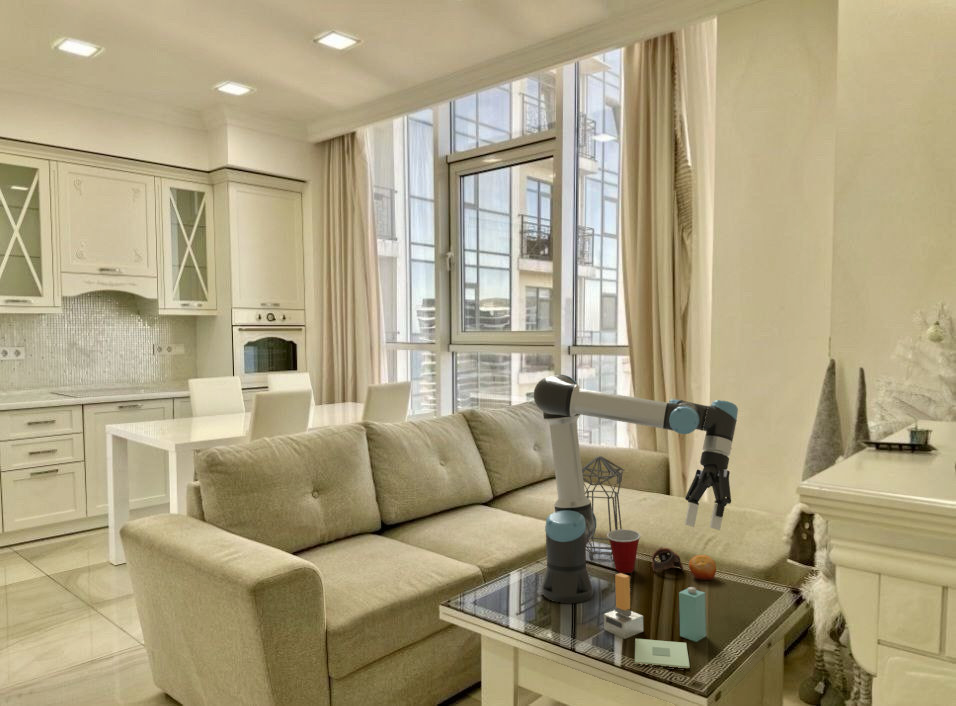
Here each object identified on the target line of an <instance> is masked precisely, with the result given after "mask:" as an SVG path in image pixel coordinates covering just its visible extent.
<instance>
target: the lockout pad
mask: <svg viewBox="0 0 956 706" xmlns="http://www.w3.org/2000/svg"><path fill="white" fill-rule="evenodd" d="M634 639H635V640H634V641H635V642H634V664H635V663H642V664H652V665H661V666H669V667H678V668H690V669H691V667H690V660H689V654H688V646H687V642H680V641H679V642H678V641H667V640H658V639H657V640H656V639H655V640H654V639H645V638H634Z"/></svg>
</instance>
